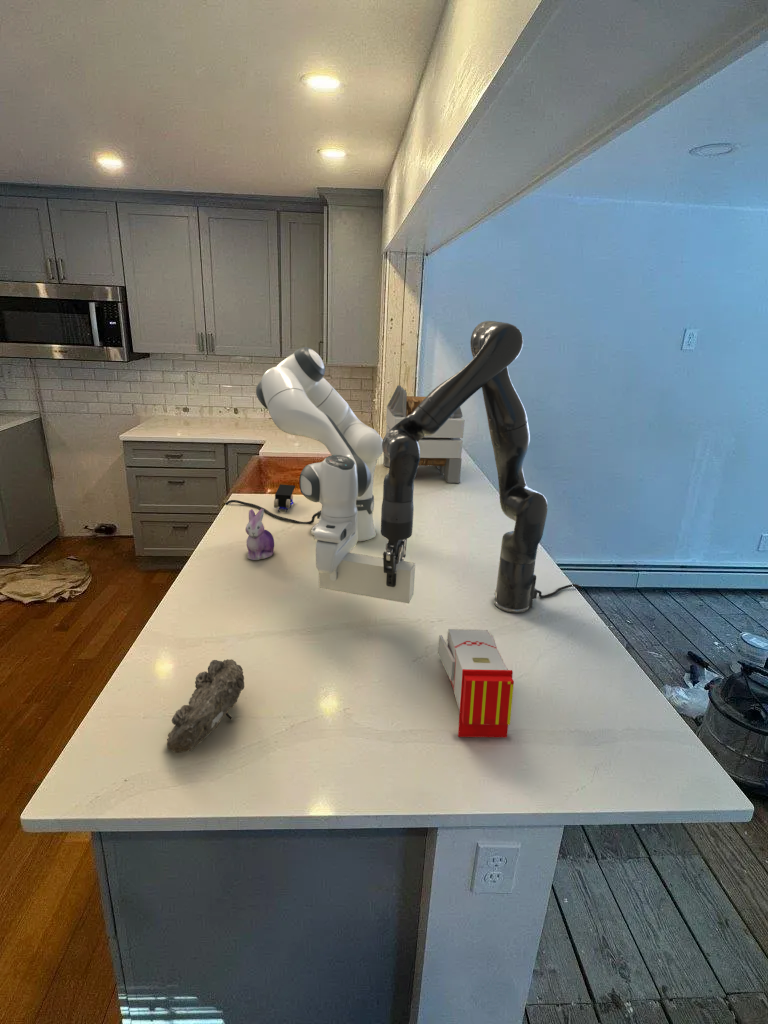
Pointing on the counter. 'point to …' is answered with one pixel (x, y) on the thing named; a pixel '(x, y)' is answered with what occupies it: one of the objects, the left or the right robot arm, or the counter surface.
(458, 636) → the toy
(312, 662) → the counter surface
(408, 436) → the right robot arm
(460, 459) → the slatted wooden crate
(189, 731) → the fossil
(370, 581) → the bar
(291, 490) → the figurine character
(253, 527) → the figurine
